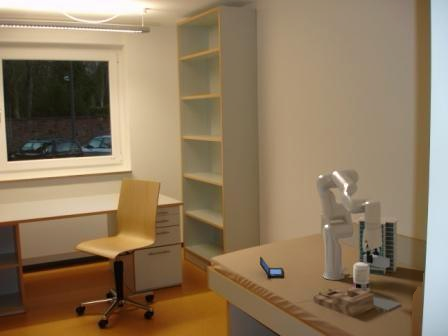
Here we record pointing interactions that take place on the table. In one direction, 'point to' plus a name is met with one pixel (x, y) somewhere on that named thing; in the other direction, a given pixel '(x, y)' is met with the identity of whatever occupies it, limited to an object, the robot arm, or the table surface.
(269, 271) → the game console
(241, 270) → the table surface
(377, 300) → the mat
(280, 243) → the table surface
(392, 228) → the building model
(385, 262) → the bar
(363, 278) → the supplement can
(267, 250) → the table surface
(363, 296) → the jig
